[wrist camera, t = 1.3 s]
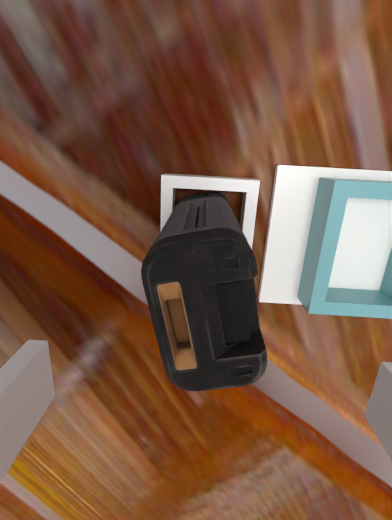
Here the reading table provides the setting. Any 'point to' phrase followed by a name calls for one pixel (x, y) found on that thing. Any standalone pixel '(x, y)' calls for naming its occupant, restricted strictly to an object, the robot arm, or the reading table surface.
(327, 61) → the reading table surface
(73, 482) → the reading table surface
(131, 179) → the reading table surface
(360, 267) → the dock
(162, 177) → the white rectangular frame
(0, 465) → the robot arm
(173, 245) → the electronic device
